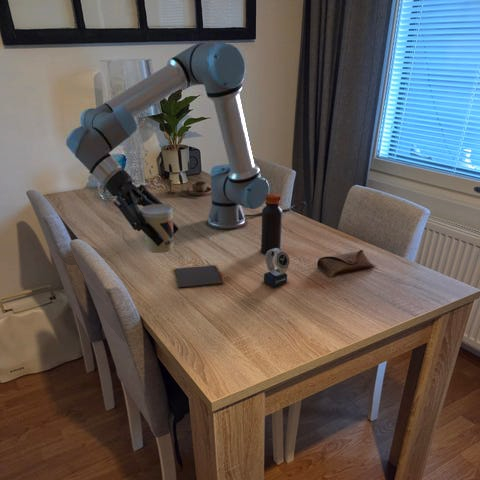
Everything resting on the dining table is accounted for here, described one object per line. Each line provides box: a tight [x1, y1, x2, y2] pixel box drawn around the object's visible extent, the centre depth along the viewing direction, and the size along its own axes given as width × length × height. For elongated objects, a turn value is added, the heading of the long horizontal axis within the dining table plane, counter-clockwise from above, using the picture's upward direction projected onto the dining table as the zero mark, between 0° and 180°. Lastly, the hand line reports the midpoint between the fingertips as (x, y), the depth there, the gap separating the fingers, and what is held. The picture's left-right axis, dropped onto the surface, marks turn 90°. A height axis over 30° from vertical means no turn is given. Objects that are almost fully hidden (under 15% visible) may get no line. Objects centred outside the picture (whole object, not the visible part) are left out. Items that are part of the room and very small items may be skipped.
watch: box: [263, 248, 290, 289], centre depth 134 cm, size 6×8×11 cm
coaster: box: [175, 264, 222, 289], centre depth 140 cm, size 13×13×1 cm
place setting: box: [167, 179, 211, 199], centre depth 219 cm, size 18×20×6 cm
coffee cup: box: [140, 203, 174, 254], centre depth 130 cm, size 9×9×12 cm
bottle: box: [260, 193, 283, 256], centre depth 153 cm, size 7×7×20 cm
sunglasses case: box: [316, 249, 375, 277], centre depth 146 cm, size 18×7×7 cm, turn 115°
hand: (169, 237), depth 130 cm, fingers closed on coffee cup, 9 cm apart
